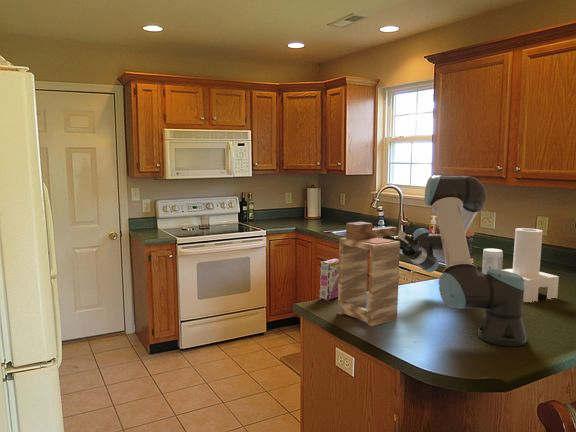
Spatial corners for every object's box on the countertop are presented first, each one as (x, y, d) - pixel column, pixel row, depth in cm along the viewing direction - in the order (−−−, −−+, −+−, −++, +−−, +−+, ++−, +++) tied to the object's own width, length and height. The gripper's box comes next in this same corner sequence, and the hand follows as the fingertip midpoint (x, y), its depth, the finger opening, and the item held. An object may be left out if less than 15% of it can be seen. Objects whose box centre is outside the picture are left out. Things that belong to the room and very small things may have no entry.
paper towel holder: (492, 291, 223) (496, 228, 219) (521, 287, 230) (526, 226, 227) (526, 302, 206) (531, 234, 202) (557, 298, 213) (562, 231, 210)
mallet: (387, 233, 199) (388, 218, 199) (398, 235, 195) (399, 220, 194) (346, 238, 185) (346, 223, 184) (357, 240, 180) (357, 224, 179)
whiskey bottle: (449, 264, 279) (452, 210, 275) (456, 261, 287) (459, 208, 283) (467, 267, 273) (470, 211, 269) (473, 264, 280) (477, 210, 276)
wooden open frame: (396, 319, 183) (400, 241, 179) (371, 326, 174) (374, 245, 171) (362, 307, 197) (364, 235, 193) (337, 313, 188) (339, 238, 185)
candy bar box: (328, 301, 205) (329, 263, 203) (319, 299, 208) (319, 261, 206) (342, 295, 213) (343, 259, 211) (333, 293, 216) (334, 258, 214)
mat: (394, 241, 179) (394, 240, 179) (376, 244, 173) (376, 243, 173) (378, 238, 185) (378, 237, 185) (360, 241, 179) (360, 240, 179)
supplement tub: (496, 275, 254) (498, 248, 252) (505, 280, 245) (507, 251, 243) (478, 275, 254) (480, 248, 252) (486, 279, 244) (488, 251, 243)
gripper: (435, 265, 197) (407, 244, 184) (388, 255, 216) (360, 235, 204) (441, 248, 198) (414, 226, 186) (394, 240, 218) (367, 219, 205)
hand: (386, 231), depth 195 cm, fingers open, 13 cm apart
